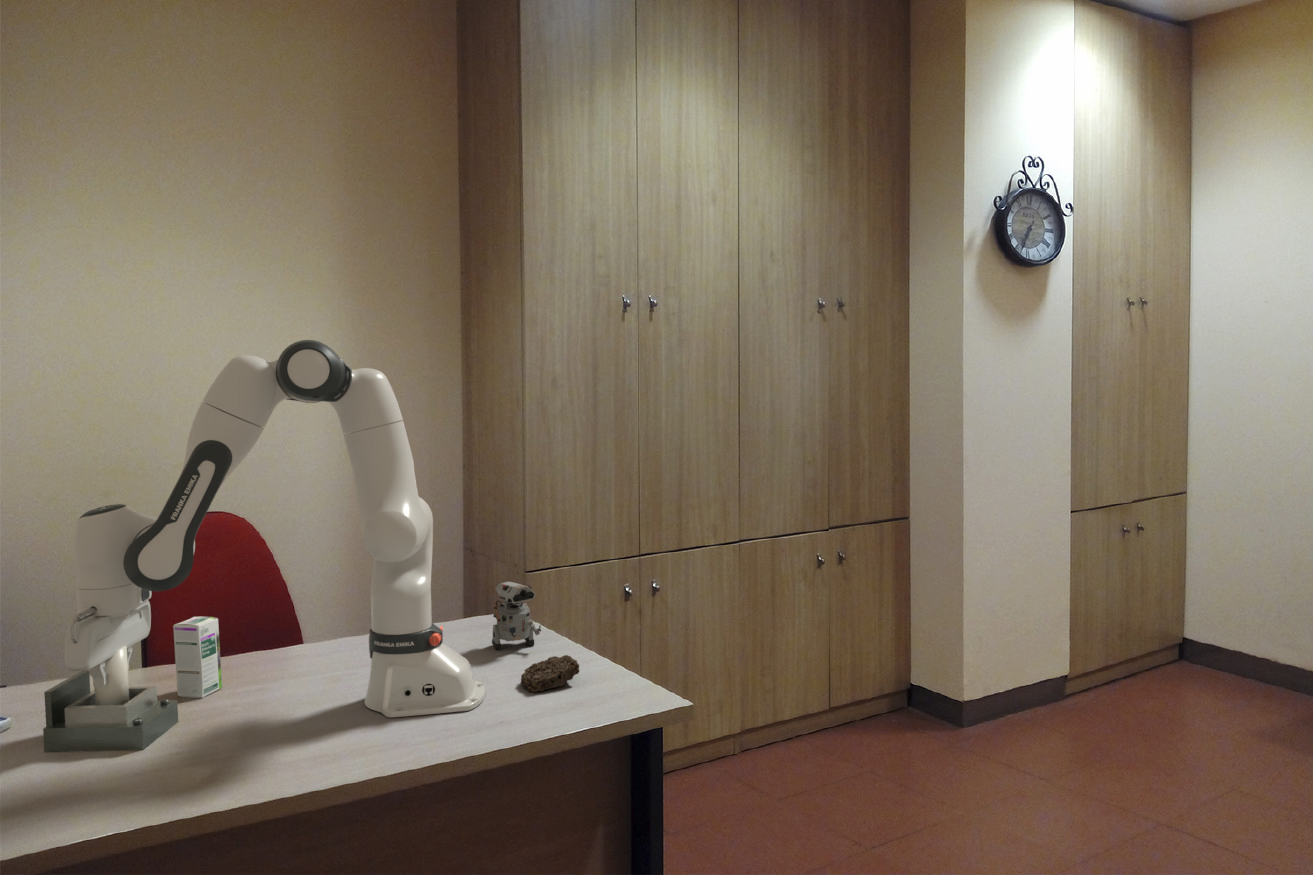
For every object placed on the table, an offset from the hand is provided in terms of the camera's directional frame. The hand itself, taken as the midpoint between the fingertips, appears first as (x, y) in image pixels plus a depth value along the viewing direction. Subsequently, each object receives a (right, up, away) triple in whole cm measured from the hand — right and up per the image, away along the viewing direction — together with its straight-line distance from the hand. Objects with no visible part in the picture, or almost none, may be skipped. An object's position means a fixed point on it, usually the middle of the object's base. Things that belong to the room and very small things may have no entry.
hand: (111, 679), depth 155 cm
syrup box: (+4, -9, +22) cm, 24 cm away
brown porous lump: (+72, -8, +27) cm, 77 cm away
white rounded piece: (-1, -5, 0) cm, 5 cm away
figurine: (+62, -7, +50) cm, 79 cm away
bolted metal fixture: (0, -10, +1) cm, 10 cm away
